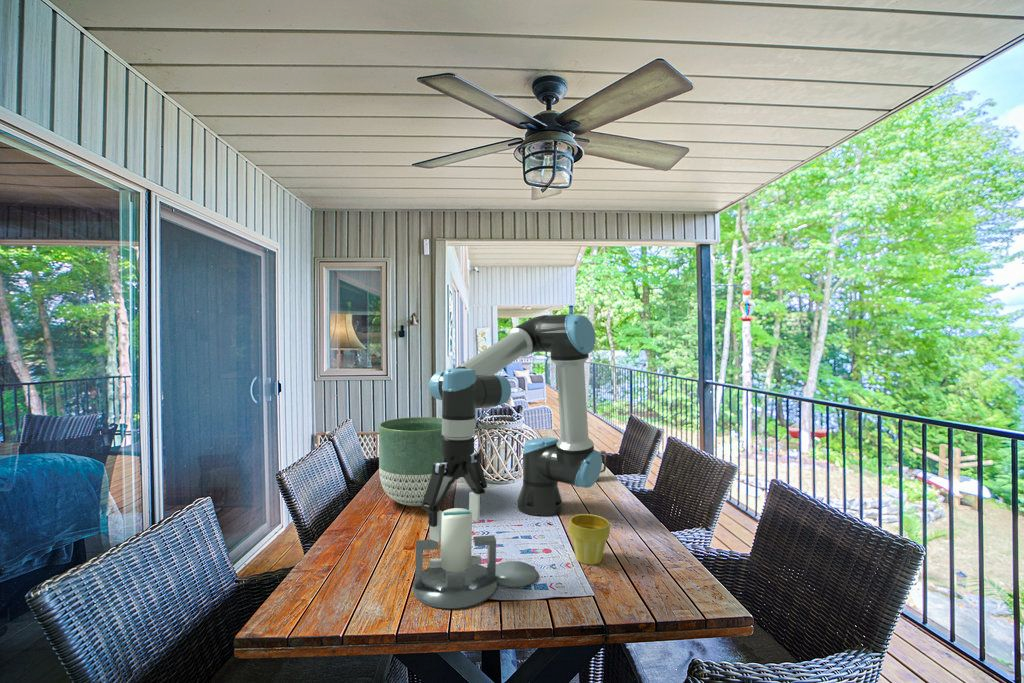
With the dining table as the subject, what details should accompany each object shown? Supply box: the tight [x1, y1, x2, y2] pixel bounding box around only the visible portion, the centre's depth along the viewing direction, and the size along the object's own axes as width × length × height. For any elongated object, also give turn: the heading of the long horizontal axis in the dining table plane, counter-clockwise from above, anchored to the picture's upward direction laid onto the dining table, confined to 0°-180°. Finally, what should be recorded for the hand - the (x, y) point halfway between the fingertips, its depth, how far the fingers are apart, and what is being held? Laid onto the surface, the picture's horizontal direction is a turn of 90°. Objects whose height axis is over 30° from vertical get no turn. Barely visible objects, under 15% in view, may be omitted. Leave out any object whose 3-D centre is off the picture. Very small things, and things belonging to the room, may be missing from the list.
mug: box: [594, 449, 607, 481], centre depth 187 cm, size 10×7×12 cm
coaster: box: [495, 560, 538, 589], centre depth 110 cm, size 11×11×1 cm
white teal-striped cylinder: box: [429, 507, 482, 572], centre depth 105 cm, size 12×7×12 cm, turn 102°
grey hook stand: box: [412, 534, 498, 610], centre depth 105 cm, size 19×19×10 cm
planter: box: [378, 416, 454, 507], centre depth 158 cm, size 27×27×27 cm
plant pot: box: [568, 513, 611, 566], centre depth 119 cm, size 10×10×10 cm
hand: (455, 530), depth 105 cm, fingers open, 13 cm apart
